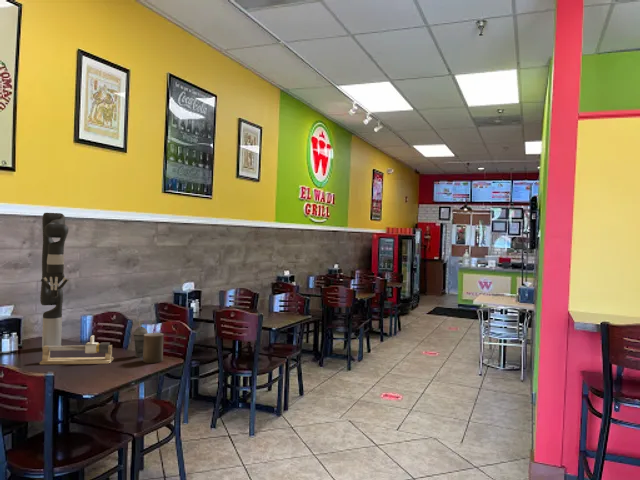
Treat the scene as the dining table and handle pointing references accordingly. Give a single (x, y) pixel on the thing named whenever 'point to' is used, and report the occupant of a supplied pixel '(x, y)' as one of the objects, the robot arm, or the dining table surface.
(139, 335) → the beverage cup
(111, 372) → the dining table surface
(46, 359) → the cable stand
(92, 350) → the white slider block
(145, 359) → the pillar candle
